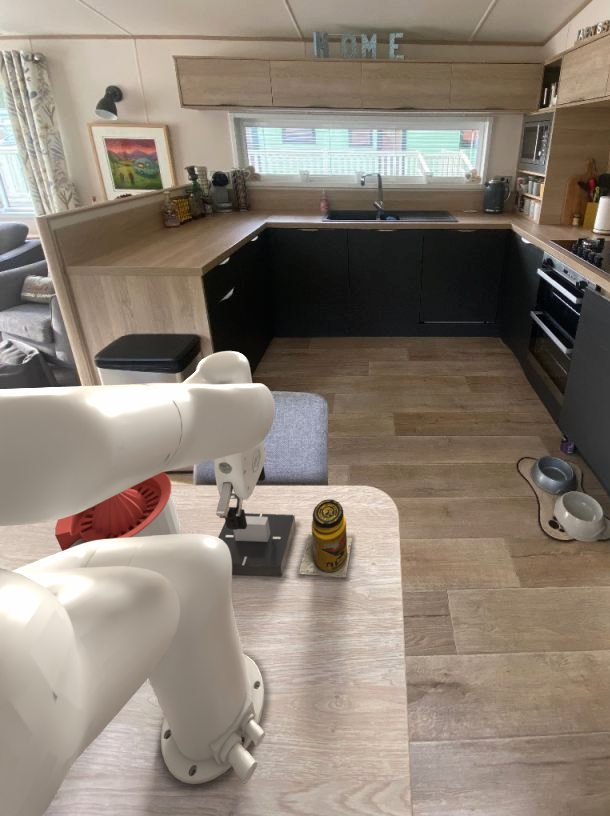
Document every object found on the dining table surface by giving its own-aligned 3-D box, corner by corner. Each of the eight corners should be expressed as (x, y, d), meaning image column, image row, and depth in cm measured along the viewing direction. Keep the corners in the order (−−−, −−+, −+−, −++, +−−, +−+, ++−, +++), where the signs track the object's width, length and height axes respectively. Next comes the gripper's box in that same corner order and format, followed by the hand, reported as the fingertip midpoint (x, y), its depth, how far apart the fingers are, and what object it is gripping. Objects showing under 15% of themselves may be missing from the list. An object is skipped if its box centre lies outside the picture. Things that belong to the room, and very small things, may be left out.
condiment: (346, 577, 68) (344, 530, 63) (298, 574, 69) (293, 527, 64) (352, 538, 75) (350, 493, 70) (308, 535, 75) (304, 490, 71)
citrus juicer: (54, 605, 64) (10, 520, 56) (152, 519, 78) (127, 441, 70) (115, 655, 58) (74, 567, 50) (208, 551, 72) (188, 471, 64)
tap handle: (270, 533, 72) (267, 515, 71) (267, 542, 71) (265, 523, 69) (238, 532, 73) (235, 514, 71) (235, 540, 71) (231, 522, 69)
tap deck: (295, 524, 77) (294, 513, 76) (282, 577, 68) (280, 566, 67) (231, 522, 78) (229, 511, 77) (208, 575, 68) (205, 563, 67)
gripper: (236, 470, 54) (252, 550, 61) (272, 393, 70) (281, 464, 77) (182, 468, 54) (204, 549, 61) (231, 392, 70) (244, 463, 77)
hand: (247, 501), depth 69 cm, fingers open, 9 cm apart
